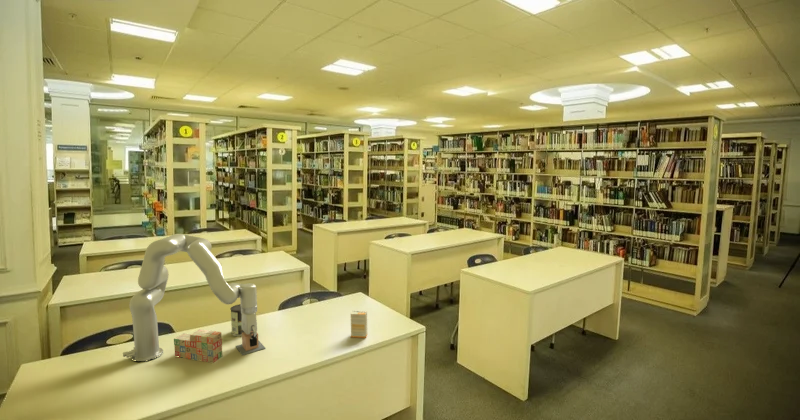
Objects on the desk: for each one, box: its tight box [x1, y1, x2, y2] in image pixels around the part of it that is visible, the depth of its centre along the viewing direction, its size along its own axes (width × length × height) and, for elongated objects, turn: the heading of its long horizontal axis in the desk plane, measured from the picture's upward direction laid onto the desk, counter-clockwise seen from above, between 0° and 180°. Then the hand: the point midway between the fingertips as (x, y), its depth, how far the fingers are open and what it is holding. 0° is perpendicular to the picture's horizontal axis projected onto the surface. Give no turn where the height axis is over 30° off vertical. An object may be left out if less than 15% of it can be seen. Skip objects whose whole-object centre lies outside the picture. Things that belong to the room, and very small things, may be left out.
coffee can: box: [230, 303, 244, 337], centre depth 206 cm, size 10×10×14 cm
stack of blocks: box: [173, 329, 223, 364], centre depth 179 cm, size 21×6×12 cm, turn 77°
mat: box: [235, 339, 266, 356], centre depth 189 cm, size 11×11×1 cm
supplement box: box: [350, 310, 368, 339], centre depth 203 cm, size 8×5×13 cm, turn 84°
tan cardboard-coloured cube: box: [241, 331, 259, 351], centre depth 189 cm, size 6×6×7 cm
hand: (250, 342), depth 189 cm, fingers open, 9 cm apart
